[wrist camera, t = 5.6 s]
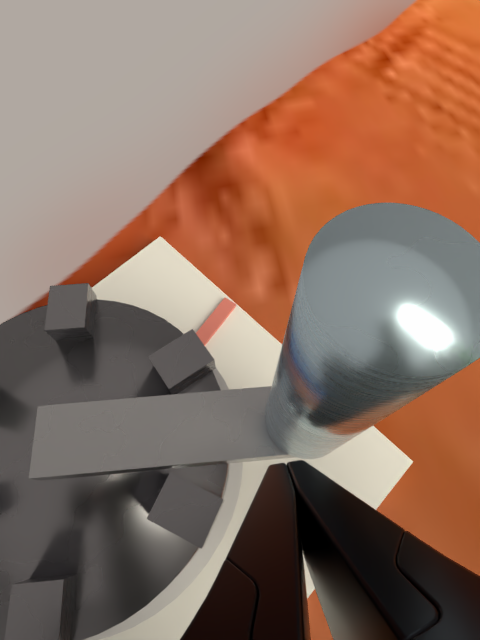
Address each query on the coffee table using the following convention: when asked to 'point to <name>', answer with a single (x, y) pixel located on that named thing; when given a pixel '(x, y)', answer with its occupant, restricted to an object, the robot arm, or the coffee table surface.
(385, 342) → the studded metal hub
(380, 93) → the coffee table surface
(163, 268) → the mounting plate
